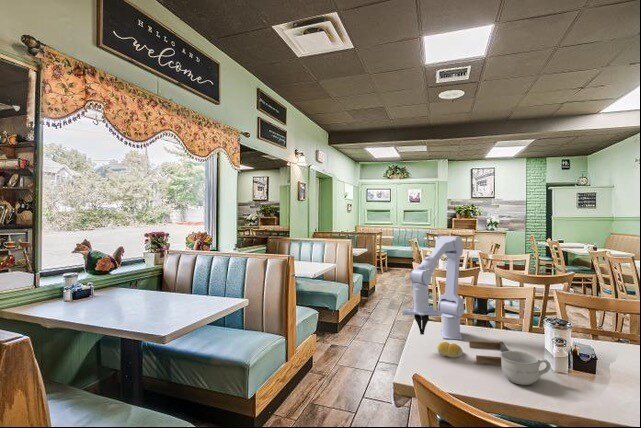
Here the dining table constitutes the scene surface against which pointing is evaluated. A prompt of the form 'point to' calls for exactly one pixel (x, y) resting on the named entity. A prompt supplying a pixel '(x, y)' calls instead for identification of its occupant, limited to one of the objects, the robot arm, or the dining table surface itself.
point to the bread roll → (449, 350)
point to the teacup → (522, 367)
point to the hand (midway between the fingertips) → (422, 333)
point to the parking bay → (488, 345)
